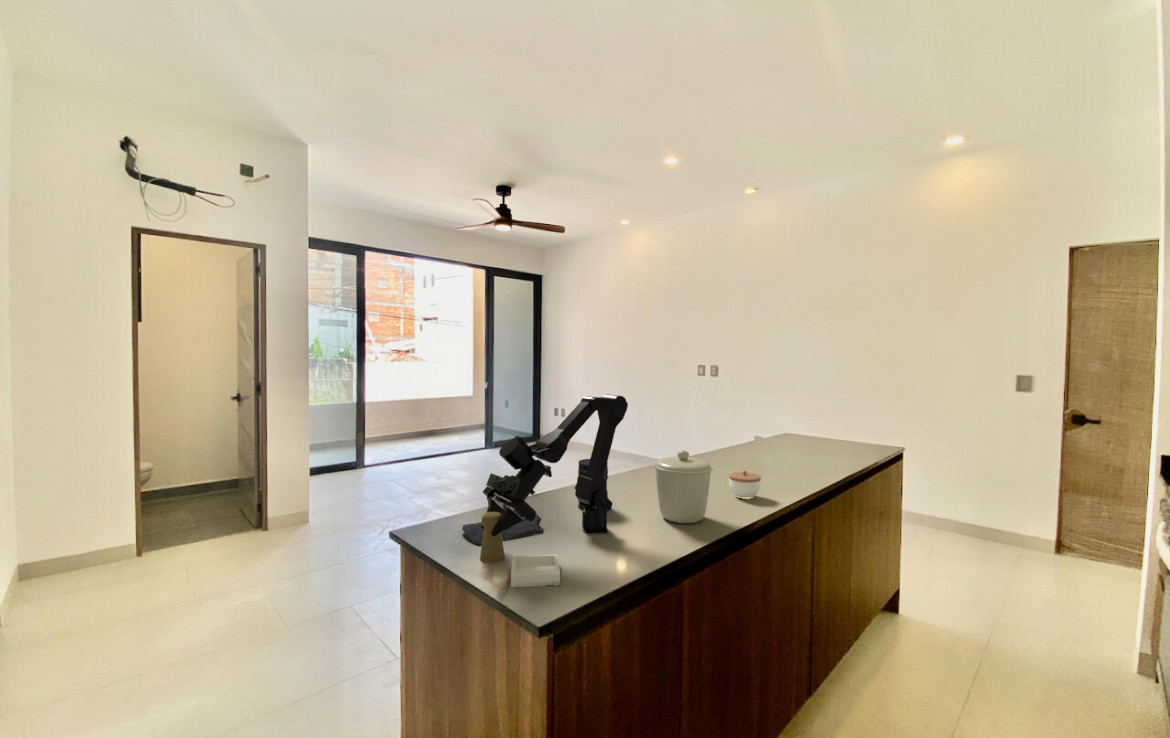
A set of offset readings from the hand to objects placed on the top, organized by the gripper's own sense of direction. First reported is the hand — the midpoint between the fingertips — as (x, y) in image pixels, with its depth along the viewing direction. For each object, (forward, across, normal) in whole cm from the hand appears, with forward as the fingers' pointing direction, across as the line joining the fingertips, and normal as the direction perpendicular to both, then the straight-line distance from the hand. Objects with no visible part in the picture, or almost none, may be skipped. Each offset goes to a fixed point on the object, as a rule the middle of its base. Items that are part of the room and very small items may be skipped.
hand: (487, 532), depth 121 cm
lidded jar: (-63, +6, +74) cm, 97 cm away
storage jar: (-28, -17, +38) cm, 50 cm away
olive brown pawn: (+4, 0, +6) cm, 7 cm away
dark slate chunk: (-3, -15, +14) cm, 21 cm away
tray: (+2, +15, +8) cm, 17 cm away
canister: (-38, +8, +49) cm, 63 cm away
